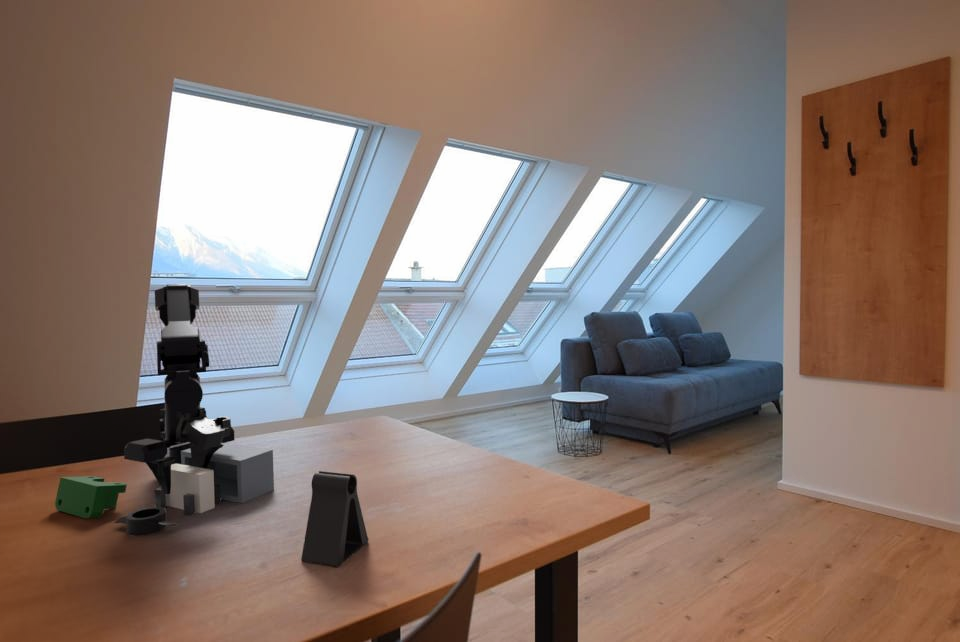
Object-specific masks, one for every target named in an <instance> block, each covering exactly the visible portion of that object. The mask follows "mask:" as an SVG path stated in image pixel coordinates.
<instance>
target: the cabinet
mask: <svg viewBox="0 0 960 642" xmlns="http://www.w3.org/2000/svg"><path fill="white" fill-rule="evenodd" d="M221 444H223V447H222V448H219V449H218V450H217V451H216V452H215V453H214V454H213V455H212V457H211V459H210V462H209V464H208V467H207V469H210V470H213V472H214V484H218V485H220V491H221V500H224V501H229V502H235V503H238V504H239V503H240V504H243V503H246V502H248V501H251V500H252V499H253V500H254V499H255V498H258V497H260V496H262V495H266V494H267V493H270V492H272V491H274V490H275V482H274V481H275V480H274V477H275V476H274V474H275V473H274V450H273V449H269V448H265V447H264V448H263V447H256V446H251V445H250V446H249V445H243V444H235V443H231V442H226V443H221ZM181 464H182V465H188V466H193V464H192V457H191V450H190V449H186V450H183V451H181Z"/></svg>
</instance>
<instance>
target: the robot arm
mask: <svg viewBox="0 0 960 642" xmlns="http://www.w3.org/2000/svg"><path fill="white" fill-rule="evenodd" d="M162 286H163V287H161V288H157V289H155V290H154V307H155V309H154V310H155V311H157V312H158V313H159V316H158V317H159V320H160V321H161V322H162V324H163V325H164V327H163V328H162V329H161V330H160V340H158V341H156V358H157V359H156V364H157V366H156V367H157V376H164V375H165V378H164V408H162V409H159V416H162V417H163V418H159V429H160V430H159V433H160V436H159V438H160V440H158V439H151V438H143V439H139V440H133V441H129V442H127V444H126V445H125V447H124V449H123V455H124V456H123V457H124V458H123V459H124V460H127V461H132V462H138V463H139V462H140V463H145V465H147V467H148V468H149V469H150V471H151V472H152V474H153V475H154V477H155V479H156V481H157V483H158V485H159V486H160V487H159V488H161V489H162V490H163V492H164V494H170V490H171V465H172V464H175V463H176V464H181V451H183V450H186V449H190V450H191V457H192V464H193V467H199V468H204V469H207V467H208V464H209V462H210V459H211V457H212V455H213V454H214V453H215V452H216V451H217V450H218V449H219V448H222V447H223V444H221V443H231V442H234V441H235V430H234V428H233V427H232V424H231V422H232V421H231V418H230V417H228V416H227V415H223V416H218V417H216V419H215V418H208V417H207V410H206V408H205V407H202V406H201V403H202V400H203V396H204V392H203V388H202V386H201V377H200V376H199V374H198V373H206V372H207V368H209V367H210V357H209V347H208V346H209V345H208V344H207V343H206V340H205V339H204V338H202V339H201V337H200V330H199V328H198V327H196V326H195V325H193V322H194V321H195V319H196V317H197V312H196V310H197V311H198V310H200V292H199V289H196V288H194V287H192V286H191V284H187V283H166V285H162ZM162 367H163V368H162Z"/></svg>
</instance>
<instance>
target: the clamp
mask: <svg viewBox="0 0 960 642" xmlns="http://www.w3.org/2000/svg"><path fill="white" fill-rule="evenodd" d="M127 486H128V484H127V483H125V482H121V481H115V482H113V481H112V482H111V481H110V482H107V481H105V478H104V477H99V476H90V475H89V476H88V475H87V476H63V477H62V476H61V477H60V478H59V482H58V487H57V492H56V496H55V497H56V498H55V502H54V505H55V510H57V511H59V512H64V513H66V514H69V515H70V514H71V515H72V516H77V517H81V518H83V519H93V518H101V517H102V516H103V514H104V512H105V510H109V509H112V510H113V509H116V508H117V506H118V505H117V503H118V499H119V495H120V494H123V493H126V491H127Z"/></svg>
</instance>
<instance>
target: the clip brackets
mask: <svg viewBox="0 0 960 642" xmlns="http://www.w3.org/2000/svg"><path fill="white" fill-rule="evenodd" d="M183 500H184V509H183V515H184V516H187V517H192V516H193V515H196V512H195V503H194V495H193V494H185V495H183ZM214 500H215V506H218V505H221V504H222V499H221V491H220V485H218V484H214ZM154 501H155V502H154V504H155V506H154V507H163V508H165V509H166V508H167V506H166V494H164V492H163V490H162V489H161V487H157V488H154Z"/></svg>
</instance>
